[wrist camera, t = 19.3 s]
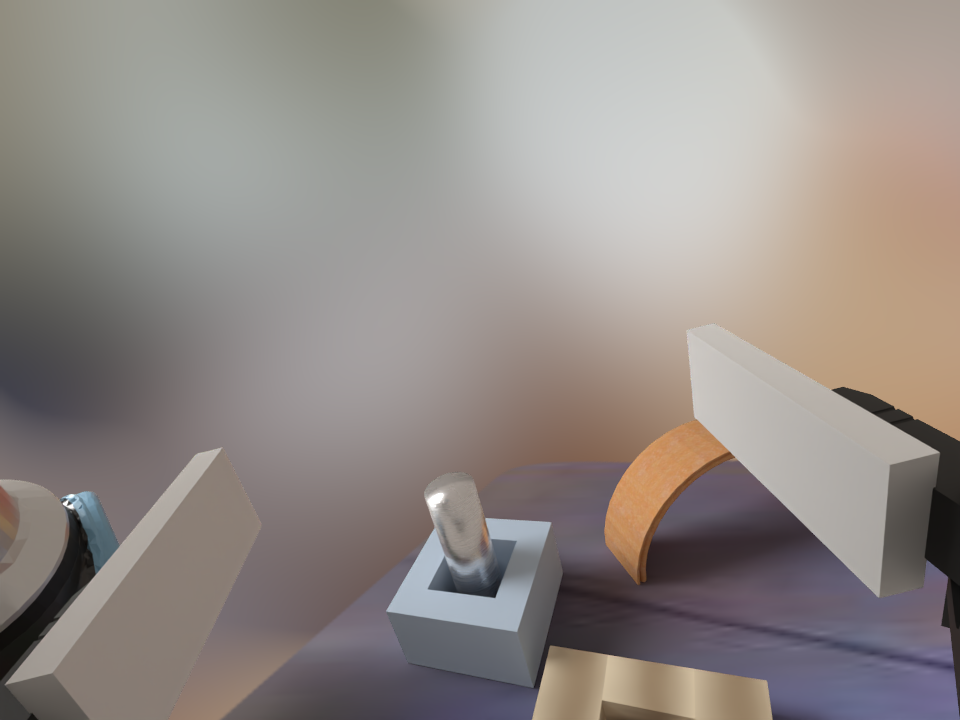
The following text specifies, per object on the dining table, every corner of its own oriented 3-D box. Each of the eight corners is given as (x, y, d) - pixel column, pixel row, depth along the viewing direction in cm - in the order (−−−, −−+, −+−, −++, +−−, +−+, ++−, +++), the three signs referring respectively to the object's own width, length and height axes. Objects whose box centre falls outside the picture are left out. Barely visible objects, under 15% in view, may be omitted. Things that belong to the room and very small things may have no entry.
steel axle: (461, 632, 44) (415, 503, 38) (476, 594, 47) (437, 471, 42) (504, 639, 42) (462, 506, 37) (517, 599, 45) (481, 472, 40)
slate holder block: (407, 662, 42) (386, 611, 40) (457, 561, 51) (441, 515, 49) (533, 688, 38) (516, 631, 35) (563, 572, 47) (551, 522, 45)
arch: (827, 504, 47) (829, 412, 43) (637, 586, 44) (622, 494, 40) (777, 472, 52) (776, 388, 49) (604, 543, 49) (589, 458, 45)
